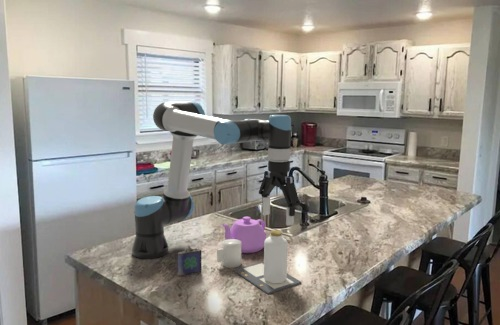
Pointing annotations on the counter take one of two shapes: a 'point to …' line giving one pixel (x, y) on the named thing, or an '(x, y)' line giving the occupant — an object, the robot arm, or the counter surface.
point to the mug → (230, 253)
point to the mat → (257, 278)
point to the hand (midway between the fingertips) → (277, 219)
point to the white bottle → (275, 258)
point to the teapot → (247, 234)
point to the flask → (189, 262)
